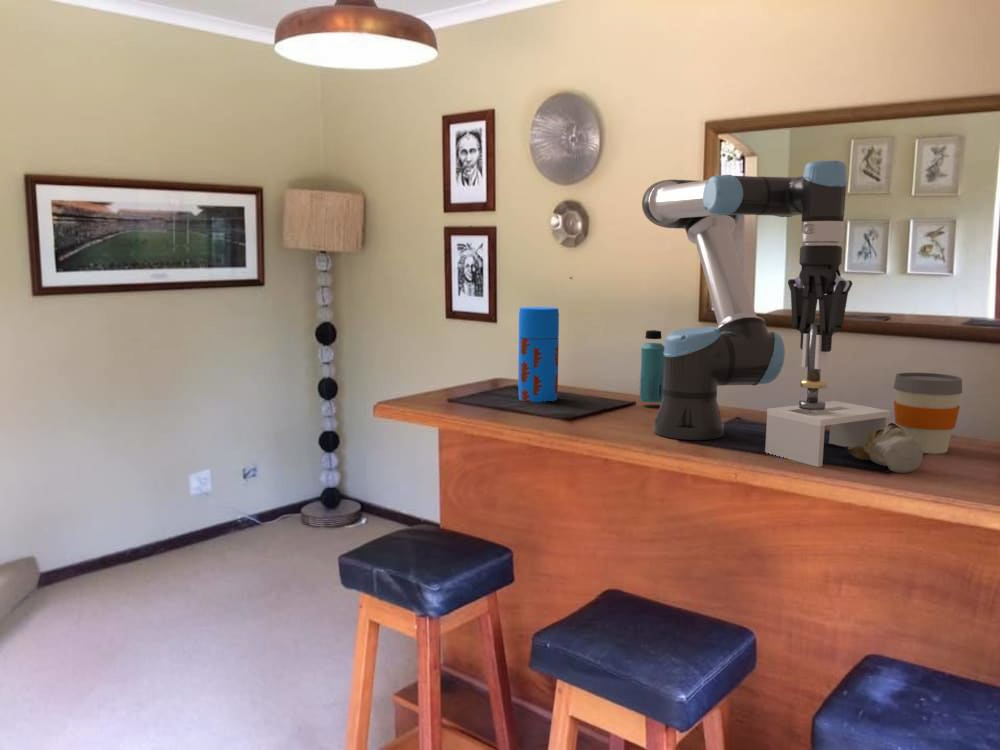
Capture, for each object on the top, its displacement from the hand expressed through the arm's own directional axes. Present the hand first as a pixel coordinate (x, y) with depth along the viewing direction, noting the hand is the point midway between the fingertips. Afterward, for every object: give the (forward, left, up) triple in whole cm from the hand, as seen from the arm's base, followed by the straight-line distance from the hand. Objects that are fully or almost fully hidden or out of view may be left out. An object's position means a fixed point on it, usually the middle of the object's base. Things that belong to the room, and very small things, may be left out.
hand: (814, 367), depth 162 cm
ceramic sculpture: (+12, +8, -18) cm, 23 cm away
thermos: (-82, -12, -18) cm, 85 cm away
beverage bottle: (-59, +9, -18) cm, 63 cm away
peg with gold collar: (0, 0, -8) cm, 8 cm away
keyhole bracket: (0, +5, -18) cm, 19 cm away
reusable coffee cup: (+6, +27, -18) cm, 33 cm away
